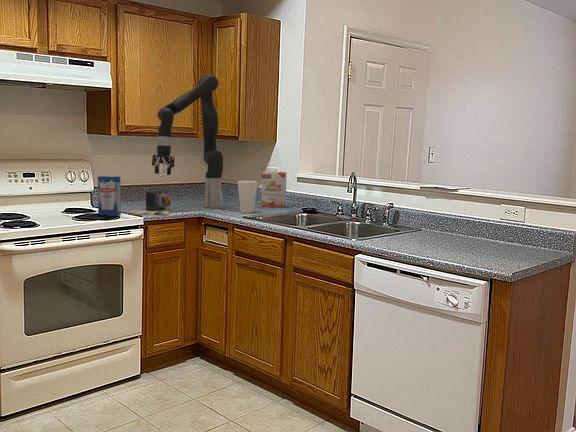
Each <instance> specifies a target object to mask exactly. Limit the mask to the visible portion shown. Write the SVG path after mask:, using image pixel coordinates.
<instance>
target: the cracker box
mask: <svg viewBox="0 0 576 432" xmlns="http://www.w3.org/2000/svg"><path fill="white" fill-rule="evenodd" d="M286 202H287V172H286V171H269V170H268V171H266V170H265V171H262V172H261V207H262V208H263V207H264V208H285V207H286V206H287V205H286Z"/></svg>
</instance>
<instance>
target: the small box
mask: <svg viewBox="0 0 576 432" xmlns="http://www.w3.org/2000/svg"><path fill="white" fill-rule="evenodd" d="M165 195H168V191H165V190H162V189H161V190H160V189H158V190H146V191H145V211H150V210H156V211H164V210H163V209H165Z"/></svg>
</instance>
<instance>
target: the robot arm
mask: <svg viewBox="0 0 576 432" xmlns="http://www.w3.org/2000/svg"><path fill="white" fill-rule="evenodd" d="M197 83H198V84H197V85H196V86H195V87H194V88H192V89H191V90H189V91H187V92H185V93H183V94H181V95H180V96H178V97H177V98H176V99H173V101H171V102H170V103H167V104H166V105H165V106H163V107H161V108H160V109H159V110H158V112H157V118H158V120H160V125H159V127H158V129H157V131H158V132H157V141H156V154H153V155H152V160H151V165H152V166H153V167H154V173H155V174H156V175H159V174H160V172H159V171H160V165H162V164H164V165H165V166H166V175H167V176H171V174H172V168H174V167H175V156H174V155H171V153H172V128H173V124H174V120H175V115H176V114H178V113H181V112H183V111H184V110H185V109H187V108H188V107H189V106H191V105H192V104H194V103H195V102H196V101H197V100H199V99H200V106H201V107H200V109H201V110H200V111H201V123H202V133H203V134H202V135H203V160H204V163H205V164H206V165H207V170H206V172H205V208H209V209H216V208H217V209H219V208H223V191H222V175H223V171H224V157H223V153H222V152H221V151H220V150H217V149H218V148H217V136H218V133H219V115H218V111H217V108H216V106H215V104H214V103H215V102H214V97H213V92H214V91H215V90H217V88H218V86H219V80H218V78H217V77H216V76H214V75H212V74H207V75H203V76H202V75H201V77H199V79H198V82H197Z"/></svg>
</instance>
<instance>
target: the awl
mask: <svg viewBox="0 0 576 432" xmlns="http://www.w3.org/2000/svg"><path fill="white" fill-rule="evenodd" d="M164 211H170V212H171V195H168V194H167V195H165V210H164Z"/></svg>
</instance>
